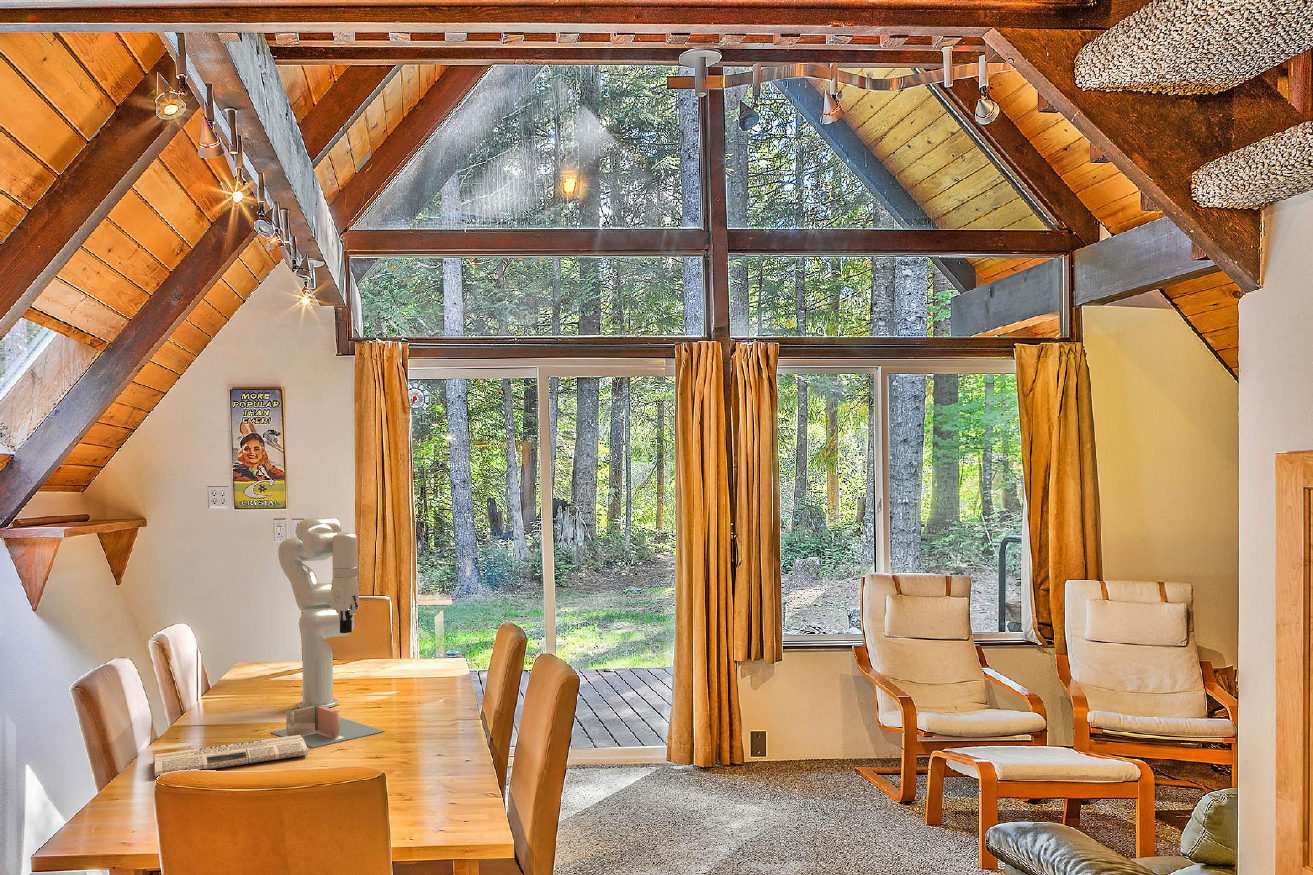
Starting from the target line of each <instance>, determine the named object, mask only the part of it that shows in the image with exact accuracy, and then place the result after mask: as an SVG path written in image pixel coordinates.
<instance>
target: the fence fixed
mask: <svg viewBox="0 0 1313 875" xmlns="http://www.w3.org/2000/svg"><path fill="white" fill-rule="evenodd" d="M285 713H286V714H285V716H286V721H285V722H286V723H285V724H286V727H285V729H286V737H288V736H295V735H301V736H302V735H307V734H311V733H315V707H307V708H302V709H300V708H298V709H293V710H287V711H286V712H285Z"/></svg>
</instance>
